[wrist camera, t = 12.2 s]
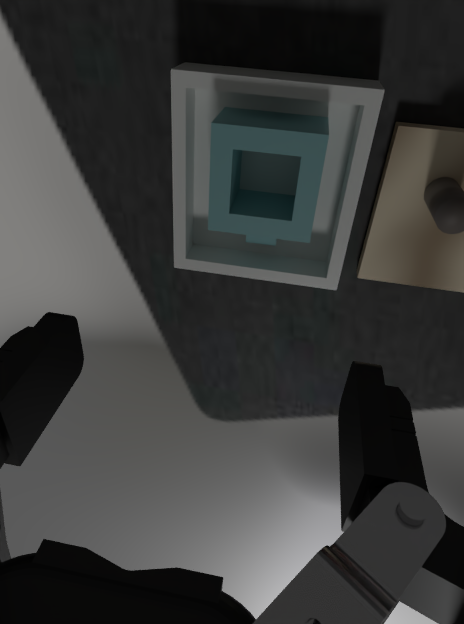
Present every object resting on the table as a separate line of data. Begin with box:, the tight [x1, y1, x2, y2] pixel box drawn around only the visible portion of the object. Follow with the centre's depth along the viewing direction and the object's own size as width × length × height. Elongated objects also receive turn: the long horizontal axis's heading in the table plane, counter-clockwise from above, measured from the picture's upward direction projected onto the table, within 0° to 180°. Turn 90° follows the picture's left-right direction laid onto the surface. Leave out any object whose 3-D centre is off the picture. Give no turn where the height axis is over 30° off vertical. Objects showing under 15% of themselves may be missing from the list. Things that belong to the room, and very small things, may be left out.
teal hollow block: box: [208, 107, 329, 246], centre depth 26 cm, size 6×8×4 cm
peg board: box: [357, 122, 464, 292], centre depth 26 cm, size 10×10×4 cm
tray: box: [171, 62, 385, 290], centre depth 27 cm, size 11×12×3 cm
